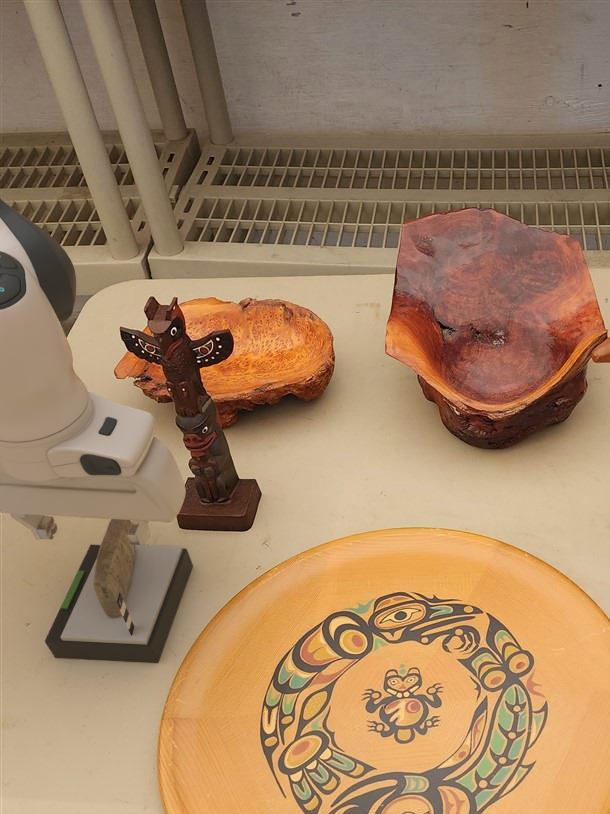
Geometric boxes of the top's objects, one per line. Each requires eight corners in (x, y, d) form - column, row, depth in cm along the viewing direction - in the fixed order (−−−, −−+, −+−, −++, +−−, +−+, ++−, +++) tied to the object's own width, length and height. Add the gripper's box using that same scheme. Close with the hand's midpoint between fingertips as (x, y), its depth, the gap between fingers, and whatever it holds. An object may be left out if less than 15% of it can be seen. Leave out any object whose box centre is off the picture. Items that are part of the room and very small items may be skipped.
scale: (54, 657, 90) (41, 638, 87) (98, 561, 98) (88, 540, 96) (158, 663, 89) (148, 643, 86) (193, 565, 98) (185, 544, 95)
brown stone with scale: (117, 601, 83) (141, 510, 91) (77, 602, 83) (105, 511, 91) (132, 636, 87) (154, 546, 95) (93, 637, 87) (119, 547, 95)
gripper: (-89, 451, 73) (-24, 555, 83) (148, 464, 72) (185, 568, 82) (-54, 403, 77) (5, 508, 87) (171, 414, 77) (204, 519, 87)
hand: (94, 537), depth 85 cm, fingers open, 8 cm apart
